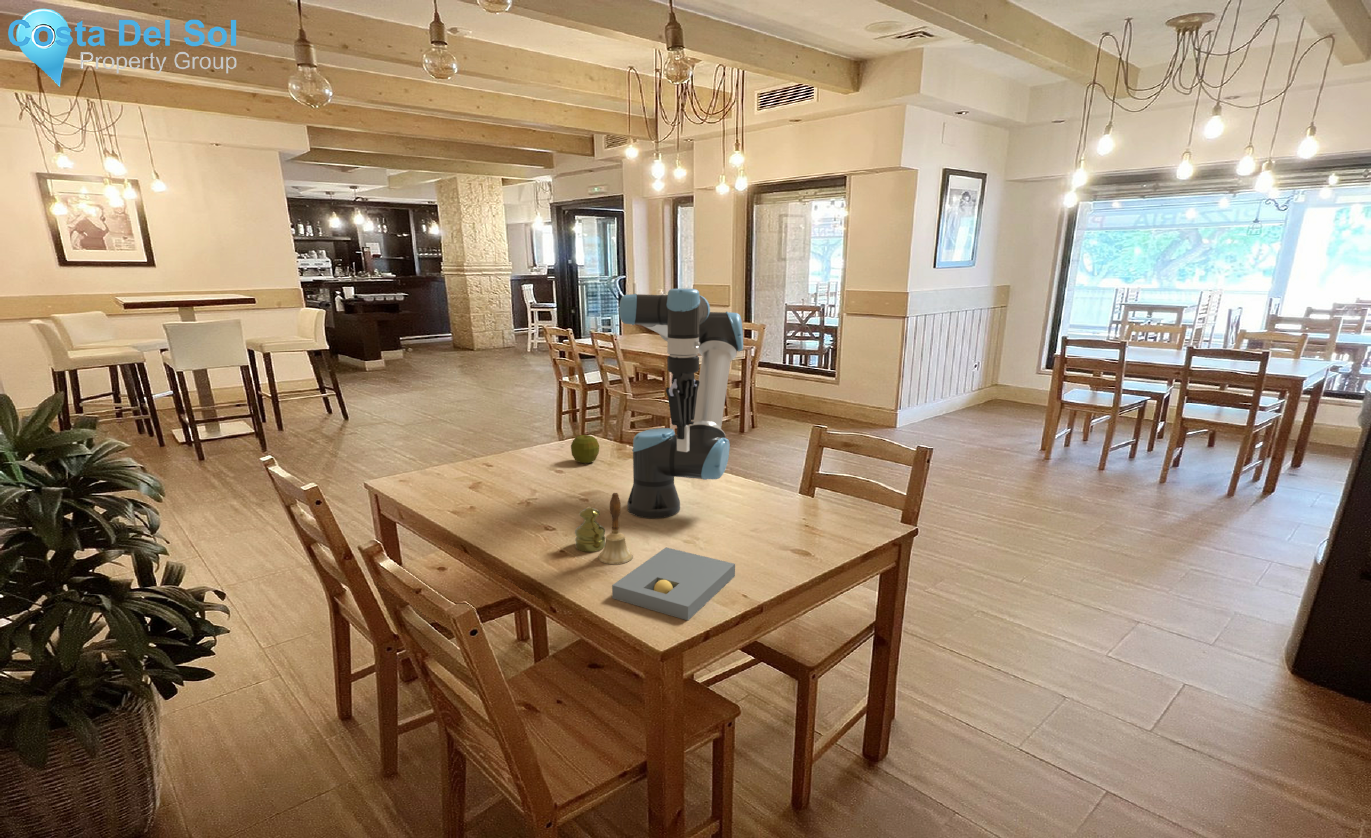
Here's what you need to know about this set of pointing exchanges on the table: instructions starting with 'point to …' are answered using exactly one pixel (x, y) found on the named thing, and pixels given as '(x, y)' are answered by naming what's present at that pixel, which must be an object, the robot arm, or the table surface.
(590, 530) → the olive green tall piece
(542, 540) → the table surface
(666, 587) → the ball
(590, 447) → the apple
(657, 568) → the board
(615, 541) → the hand bell
